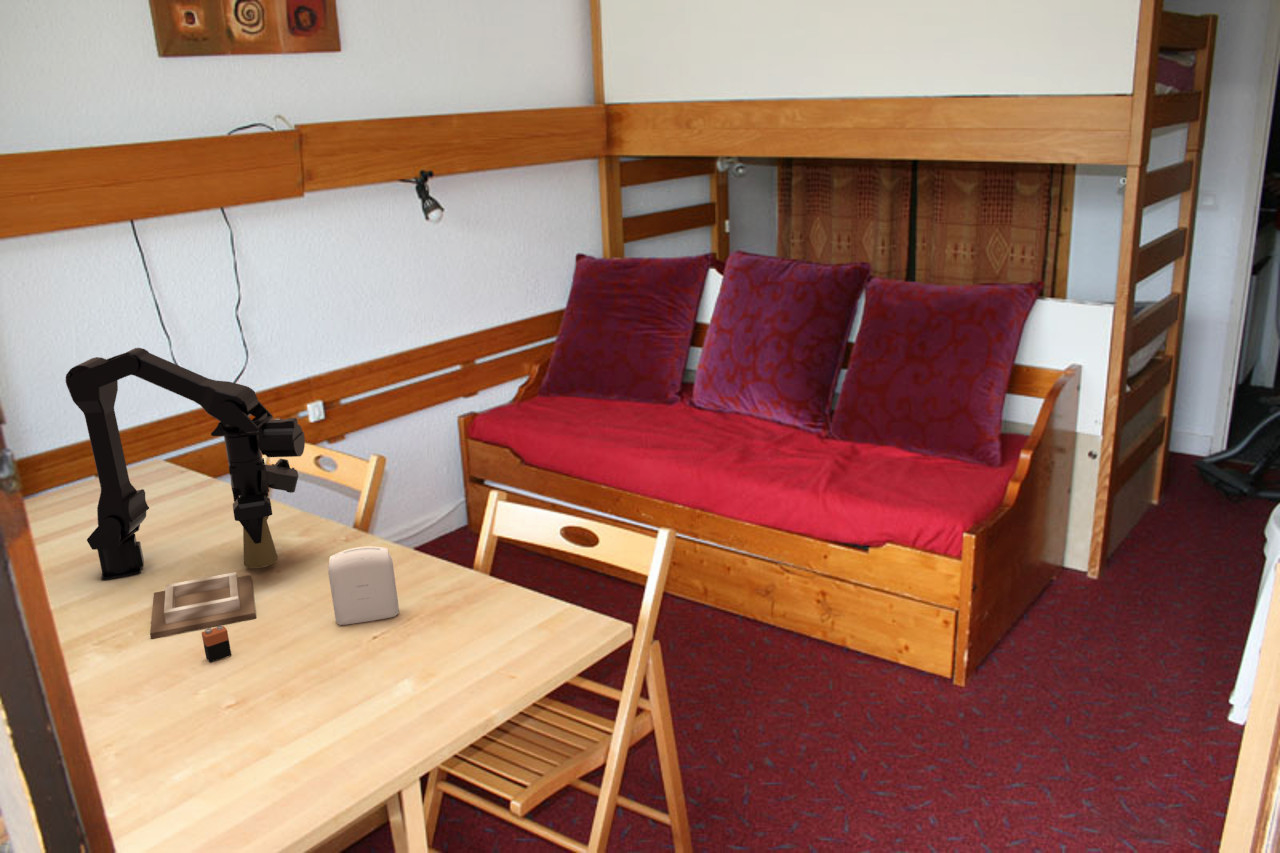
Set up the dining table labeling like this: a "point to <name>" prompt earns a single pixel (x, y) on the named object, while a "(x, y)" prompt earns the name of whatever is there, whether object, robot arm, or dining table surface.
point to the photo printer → (363, 585)
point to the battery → (216, 643)
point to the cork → (259, 549)
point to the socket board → (202, 604)
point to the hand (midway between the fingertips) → (257, 538)
